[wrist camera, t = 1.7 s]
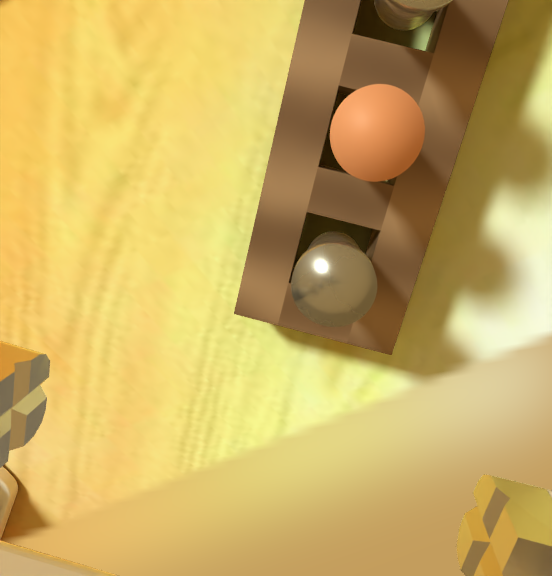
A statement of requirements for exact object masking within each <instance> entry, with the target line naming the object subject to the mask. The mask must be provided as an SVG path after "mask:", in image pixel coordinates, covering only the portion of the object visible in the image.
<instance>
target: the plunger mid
mask: <svg viewBox="0 0 552 576" xmlns="http://www.w3.org/2000/svg"><path fill="white" fill-rule="evenodd" d="M424 136H425V124H424V119H423V115H422V112H421V110H420V108H419V106H418V105H417V103H416V102H415V100H414V99H413V98H412V97H411V96H410V95H409V94H408V93H406V92H405V91H403V90H402V89H400V88H397V87H395V86H392V85H387V84H373V85H368V86H365V87H362V88H360V89H358V90H356V91H354V92H353V93H351V94H350V95H349V96H348V97H347V98H345V99H344V100H343V102H342V103H341V104H340V105H339V107H338V109H337V110H336V112H335V114H334V116H333V119H332V123H331V128H330V143H331V148H332V151H333V154H334V156H335V158H336V160H337V161H338V163H339V164H340V166H341V167H342V168H343V169H344V170H345V171H346V172H348V173H349V174H351V175H352V176H354V177H356V178H358V179H361V180H365V181H372V182H378V181H385V180H389V179H392V178H394V177H396V176H398V175H400V174H401V173H403V172H404V171H406V170H407V169H408V168H409V167H410V166H411V165H412V164H413V163H414V161H415V160H416V158H417V157H418V155H419V153H420V151H421V148H422V146H423V142H424Z"/></svg>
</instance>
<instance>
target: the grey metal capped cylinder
mask: <svg viewBox="0 0 552 576" xmlns="http://www.w3.org/2000/svg"><path fill="white" fill-rule="evenodd" d="M291 292H292V296H293V299H294V302H295V304H296V306H297V307H298V309H299V310H300V311H301V313H302V314H303V315H304V316H306V317H307V318H308V319H309V320H311V321H313V322H315V323H317V324H320V325H323V326H328V327H340V326H346V325H349V324H351V323H354V322H356V321H357V320H359V319H360V318H362V317H363V316H364V315H365V314H366V313H367V312H368V311H369V309H370V308H371V306H372V304H373V303H374V300H375V298H376V293H377V278H376V274H375V271H374V268H373V265H372V263H371V261H370V259H369V258H368V256H367V255H366V254H365V253H364V252H363V251H362V250H361V249H360V248H359V246H358V244H357V243H356V241H355V240H354V239H353V238H352V237H350V236H349V235H347V234H345V233H342V232H338V231H330V232H326V233H323V234H321V235H319V236H317V237H316V238H315V239H314V240H313V241H312V242H311V244H310V245H309V247H308V250H307V251H306V252H304V253H303V255H302V256H301V257H300V258H299V260H298V262H297V264H296V266H295V269H294V272H293V275H292V280H291Z"/></svg>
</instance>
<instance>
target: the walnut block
mask: <svg viewBox="0 0 552 576" xmlns="http://www.w3.org/2000/svg"><path fill="white" fill-rule="evenodd" d="M361 1H362V0H305V2H304V7H303V11H302V15H301V20H300V24H299V29H298V33H297V38H296V42H295V46H294V51H293V55H292V60H291V64H290V68H289V73H288V77H287V82H286V86H285V91H284V95H283V99H282V104H281V108H280V113H279V117H278V121H277V126H276V130H275V135H274V139H273V144H272V148H271V152H270V157H269V161H268V166H267V170H266V174H265V179H264V183H263V188H262V192H261V197H260V201H259V205H258V210H257V214H256V219H255V223H254V227H253V232H252V236H251V241H250V245H249V250H248V254H247V258H246V263H245V267H244V272H243V276H242V280H241V285H240V289H239V294H238V298H237V303H236V307H235V311H234V314H237V315H241V316H244V317H248V318H252V319H256V320H260V321H263V322H267V323H271V324H275V325H279V326H282V327H286V328H290V329H294V330H298V331H302V332H305V333H309V334H313V335H317V336H321V337H324V338H328V339H332V340H336V341H340V342H343V343H347V344H351V345H355V346H359V347H362V348H366V349H370V350H374V351H378V352H382V353H385V354H389V355H392V352H393V349H394V346H395V343H396V340H397V337H398V334H399V330H400V327H401V324H402V321H403V318H404V315H405V312H406V309H407V306H408V303H409V300H410V297H411V294H412V291H413V288H414V285H415V282H416V279H417V276H418V273H419V270H420V267H421V264H422V261H423V258H424V255H425V252H426V249H427V246H428V243H429V240H430V237H431V234H432V231H433V228H434V225H435V222H436V218H437V215H438V212H439V209H440V206H441V203H442V200H443V197H444V194H445V191H446V188H447V185H448V182H449V179H450V176H451V173H452V170H453V167H454V164H455V161H456V158H457V155H458V152H459V149H460V146H461V143H462V140H463V137H464V134H465V131H466V128H467V125H468V122H469V119H470V116H471V113H472V109H473V106H474V103H475V100H476V97H477V94H478V91H479V88H480V85H481V82H482V79H483V76H484V73H485V70H486V67H487V64H488V61H489V58H490V55H491V52H492V49H493V46H494V43H495V40H496V37H497V34H498V31H499V28H500V25H501V22H502V19H503V16H504V13H505V10H506V7H507V4H508V1H509V0H453V1H452V2H451V3H450V4H448V5H447V6H445V7H444V8H442V9H440V10H437V14H436V17H435V20H434V24H433V27H432V30H431V34H430V37H429V41H428V44H427V47H426V51H422V50H418V49H414V48H410V47H406V46H401V45H397V44H393V43H389V42H385V41H380V40H376V39H372V38H368V37H364V36H360V35H355V34H353V32H354V28H355V24H356V20H357V16H358V12H359V9H360V5H361ZM373 84H387V85H392V86H395V87H397V88H400V89H402V90H403V91H405V92H406V93H408V94H409V95H410V96H411V97H412V98H413V99H414V100H415V102H416V103H417V105H418V106H419V108H420V110H421V112H422V115H423V119H424V124H425V136H424V142H423V146H422V148H421V151H420V153H419V155H418V157H417V158H416V160H415V161H414V163H413V164H412V165H411V166H410V167H409V168H408V169H407V170H406V171H404V172H403V173H401V174H400V175H398V176H396V177H394V178H392V179H389V180H387V181H378V182H372V181H365V180H361V179H358V178H356V177H354V176H352V175H351V174H349V173H348V172H346V171H344V170H340V169H336V168H332V167H328V166H324V165H320V161H321V157H322V153H323V150H324V146H325V142H326V138H327V134H328V130H329V126H330V122H331V118H332V114H333V110H334V106H335V103H336V99H337V95H338V93H341V94H345V95H350V94H351V93H353V92H354V91H356V90H358V89H360V88H362V87H365V86H368V85H373ZM307 212H309V213H313V214H317V215H321V216H325V217H329V218H333V219H337V220H341V221H345V222H349V223H353V224H356V225H360V226H364V227H368V228H372V229H373V230H372V233H371V237H370V240H369V244H368V247H367V250H366V255H367V256H368V258H369V259H370V261H371V263H372V265H373V268H374V271H375V274H376V278H377V293H376V298H375V300H374V303H373V304H372V306H371V308H370V309H369V311H368V312H367V313H366V314H365V315H364V316H363V317H362V318H360V319H359V320H357V321H356V322H354V323H351V324H349V325H346V326H340V327H328V326H323V325H320V324H317V323H315V322H313V321H311V320H309V319H308V318H307V317H306V316H304V315H303V314H302V313H301V311H300V310H299V309H298V307H297V306H296V304H295V302H294V299H293V296H292V292H291V280H292V275H293V272H294V269H295V268H293V267H294V263H295V259H296V255H297V251H298V248H299V244H300V240H301V236H302V232H303V228H304V224H305V220H306V216H307Z"/></svg>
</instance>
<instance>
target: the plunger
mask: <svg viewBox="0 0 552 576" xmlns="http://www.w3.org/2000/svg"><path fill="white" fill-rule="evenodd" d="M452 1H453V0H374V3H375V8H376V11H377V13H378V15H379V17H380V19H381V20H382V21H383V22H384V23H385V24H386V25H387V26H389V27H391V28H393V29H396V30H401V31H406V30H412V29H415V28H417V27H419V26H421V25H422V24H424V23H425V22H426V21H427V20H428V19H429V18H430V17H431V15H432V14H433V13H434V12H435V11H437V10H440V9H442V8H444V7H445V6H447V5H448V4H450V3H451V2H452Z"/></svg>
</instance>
